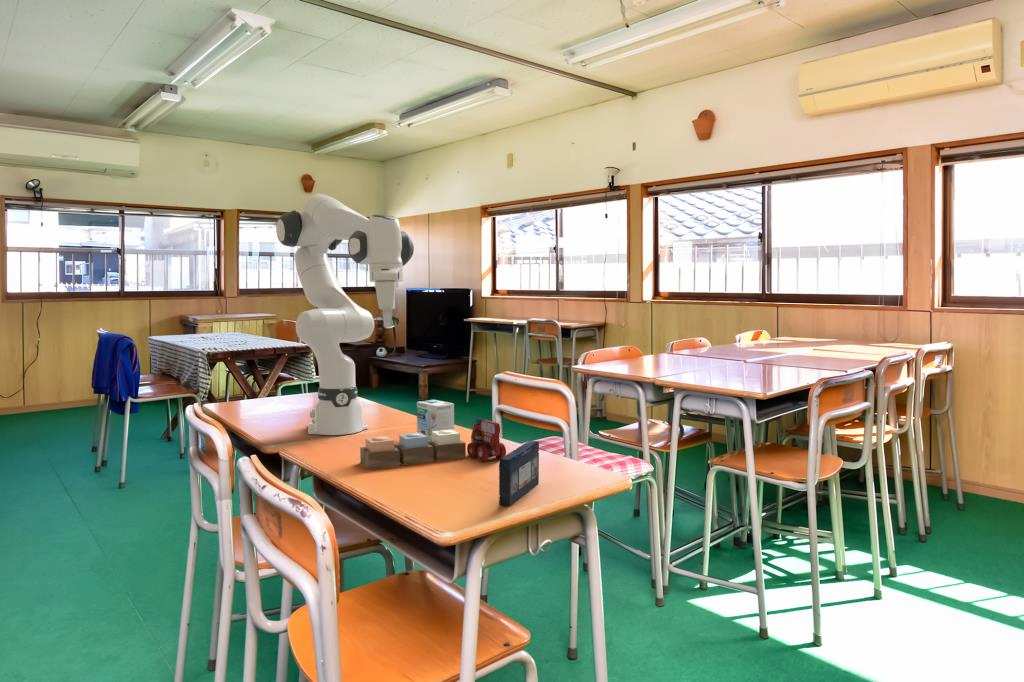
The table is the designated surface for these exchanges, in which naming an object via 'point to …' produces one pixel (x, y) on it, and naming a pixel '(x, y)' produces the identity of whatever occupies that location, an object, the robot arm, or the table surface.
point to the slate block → (413, 440)
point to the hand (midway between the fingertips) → (387, 326)
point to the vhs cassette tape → (518, 473)
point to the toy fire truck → (485, 441)
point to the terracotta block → (379, 444)
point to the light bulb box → (434, 417)
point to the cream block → (445, 437)
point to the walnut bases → (412, 455)
